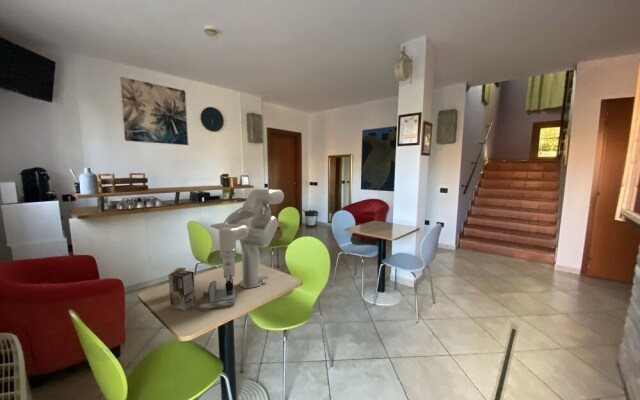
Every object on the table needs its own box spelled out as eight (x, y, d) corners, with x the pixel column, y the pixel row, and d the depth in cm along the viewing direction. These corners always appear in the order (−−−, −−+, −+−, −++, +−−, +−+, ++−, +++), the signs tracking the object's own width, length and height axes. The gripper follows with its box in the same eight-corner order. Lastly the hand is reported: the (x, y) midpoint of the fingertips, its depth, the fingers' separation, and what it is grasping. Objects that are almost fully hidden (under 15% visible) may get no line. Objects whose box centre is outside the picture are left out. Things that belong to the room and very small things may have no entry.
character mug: (185, 288, 142) (184, 265, 141) (194, 290, 139) (192, 267, 137) (165, 296, 132) (164, 271, 131) (174, 299, 129) (173, 274, 128)
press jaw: (235, 291, 135) (234, 270, 134) (234, 301, 125) (234, 278, 124) (210, 294, 132) (209, 272, 131) (208, 305, 121) (207, 281, 120)
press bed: (234, 292, 137) (234, 287, 137) (233, 306, 123) (233, 301, 123) (203, 296, 133) (203, 291, 133) (199, 311, 119) (198, 305, 118)
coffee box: (196, 304, 125) (194, 271, 123) (185, 310, 119) (183, 276, 117) (181, 301, 128) (179, 269, 126) (169, 307, 122) (167, 274, 120)
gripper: (235, 257, 120) (237, 295, 122) (236, 247, 136) (237, 281, 138) (218, 258, 118) (220, 297, 120) (221, 248, 134) (222, 283, 136)
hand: (229, 288), depth 129 cm, fingers closed on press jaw, 3 cm apart
